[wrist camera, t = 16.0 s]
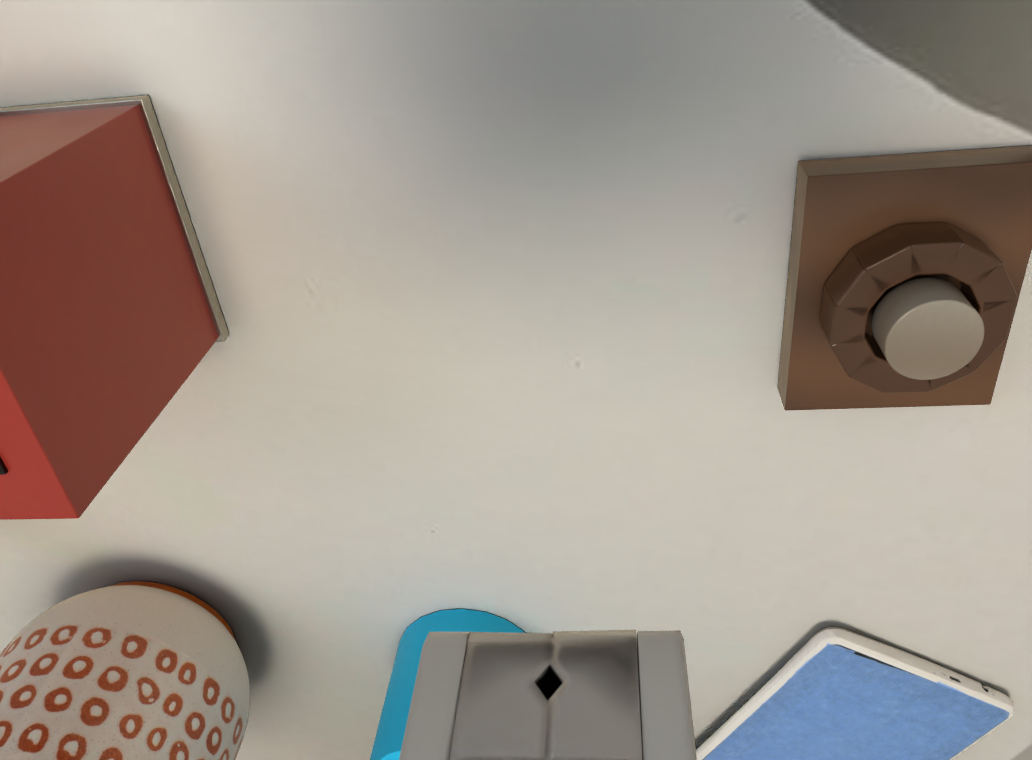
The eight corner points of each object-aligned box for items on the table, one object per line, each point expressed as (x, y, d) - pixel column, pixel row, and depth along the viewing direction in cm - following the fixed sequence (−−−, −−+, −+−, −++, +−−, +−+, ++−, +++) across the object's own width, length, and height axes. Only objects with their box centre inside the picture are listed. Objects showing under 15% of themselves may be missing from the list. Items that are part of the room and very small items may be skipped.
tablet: (824, 615, 42) (830, 636, 41) (1018, 694, 44) (1028, 715, 43) (640, 789, 53) (641, 809, 52) (805, 846, 55) (809, 866, 54)
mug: (389, 606, 45) (351, 742, 38) (535, 610, 44) (524, 750, 37) (417, 735, 52) (389, 870, 45) (545, 741, 51) (536, 879, 44)
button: (877, 279, 29) (892, 302, 27) (974, 274, 28) (994, 297, 27) (865, 356, 30) (878, 382, 29) (956, 353, 30) (974, 379, 28)
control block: (797, 160, 30) (819, 195, 27) (1033, 144, 29) (1082, 178, 26) (777, 388, 35) (793, 437, 32) (974, 381, 34) (1009, 431, 31)
